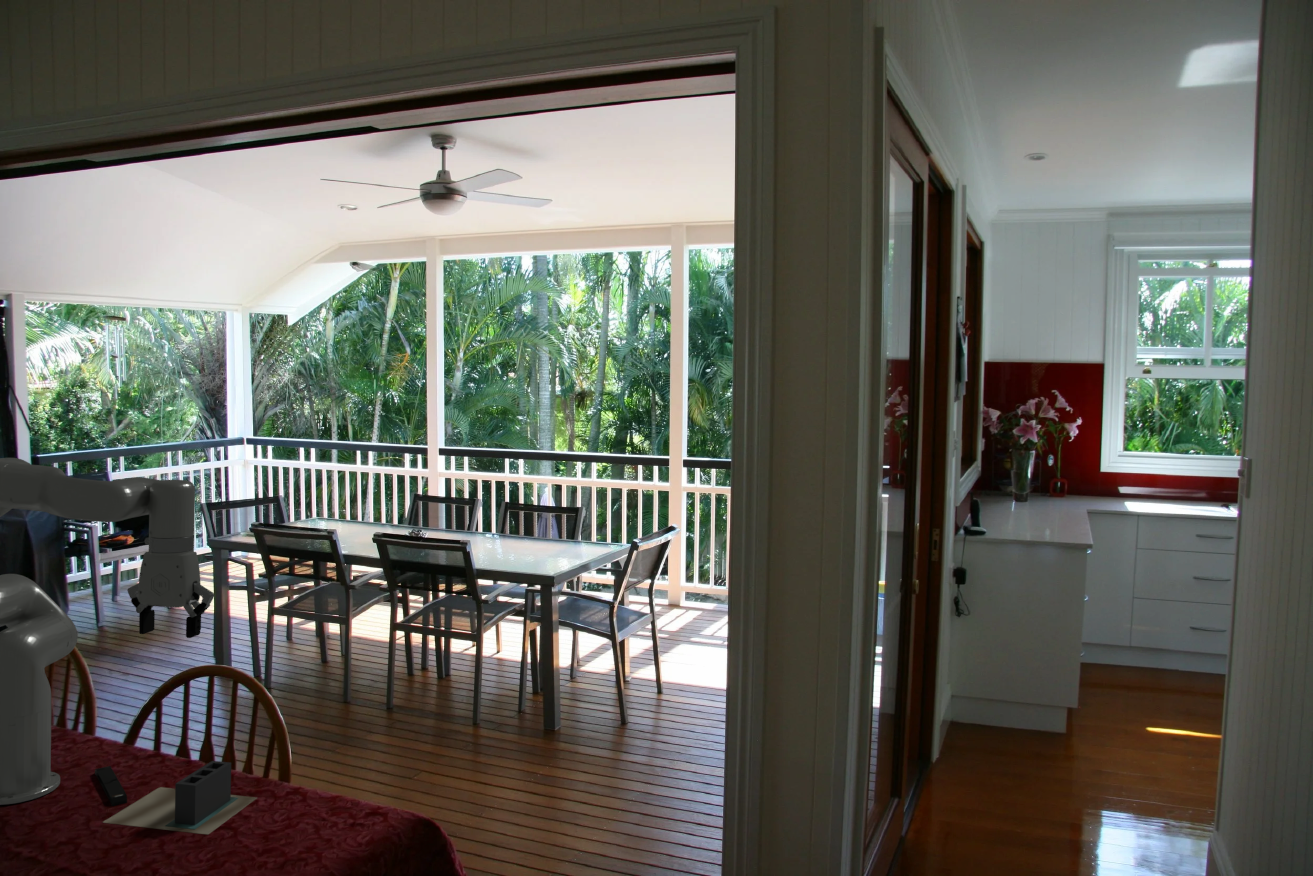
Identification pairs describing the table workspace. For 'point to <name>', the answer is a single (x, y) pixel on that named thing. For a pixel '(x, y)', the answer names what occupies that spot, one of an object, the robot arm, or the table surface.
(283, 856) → the table surface
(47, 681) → the robot arm
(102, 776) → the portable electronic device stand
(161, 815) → the pin board
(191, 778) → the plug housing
